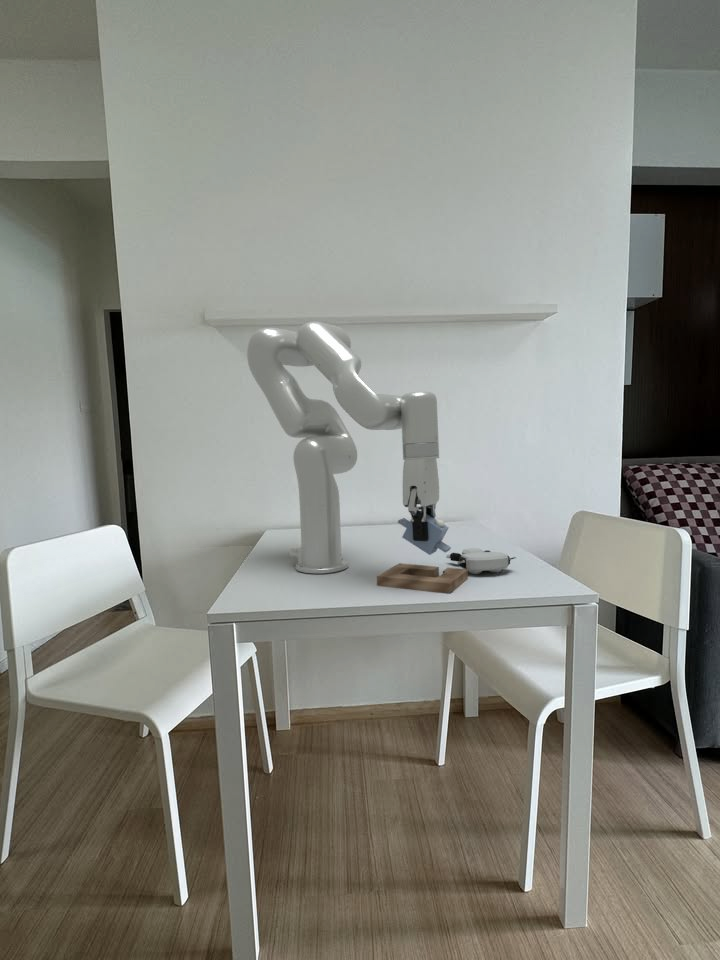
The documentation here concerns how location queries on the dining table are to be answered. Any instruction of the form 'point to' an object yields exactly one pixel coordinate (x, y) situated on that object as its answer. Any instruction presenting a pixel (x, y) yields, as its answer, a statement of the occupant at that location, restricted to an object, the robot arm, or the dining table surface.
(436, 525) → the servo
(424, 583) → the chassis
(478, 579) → the dining table surface
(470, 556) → the robot toy
